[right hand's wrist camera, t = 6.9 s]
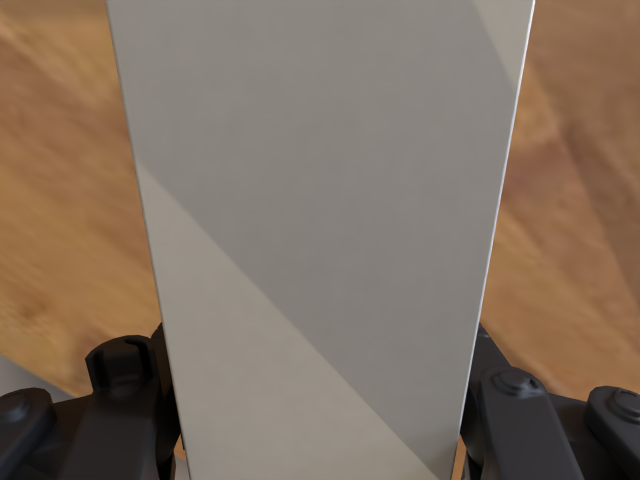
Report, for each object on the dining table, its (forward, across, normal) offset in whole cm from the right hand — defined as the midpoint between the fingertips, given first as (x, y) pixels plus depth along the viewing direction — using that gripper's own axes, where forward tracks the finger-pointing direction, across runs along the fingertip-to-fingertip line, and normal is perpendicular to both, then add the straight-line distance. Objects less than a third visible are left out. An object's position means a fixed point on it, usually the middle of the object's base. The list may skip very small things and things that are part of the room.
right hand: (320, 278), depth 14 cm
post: (+1, 0, -25) cm, 25 cm away
